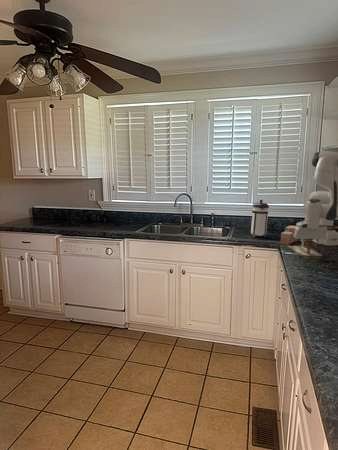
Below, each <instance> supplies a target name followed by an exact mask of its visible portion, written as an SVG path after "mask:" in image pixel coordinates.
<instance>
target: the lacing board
mask: <svg viewBox="0 0 338 450" xmlns="http://www.w3.org/2000/svg"><path fill="white" fill-rule="evenodd" d="M287 248H289V249H290V250H293V251H294V252H295V253H296V254H298V255H299V258H305V259H324V255H323V254H321V253H319V252H317V251H316V250H314V249H309V248H305V247H303V246H302V245H287Z"/></svg>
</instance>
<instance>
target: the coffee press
mask: <svg viewBox="0 0 338 450" xmlns="http://www.w3.org/2000/svg"><path fill="white" fill-rule="evenodd" d="M269 208H270V206H269V204H268V203H267V202H263V199H259V202H254V203H253V205H252V210H251V212H252V214H251V215H252V216H251V226H250V227H251V228H250V232H249V233H250V235H251V237H252V238H255V237H256V236H259V237H263V238H264V237H265V238H267V226H268V218H269V217H268V216H269ZM265 238H264V239H265Z"/></svg>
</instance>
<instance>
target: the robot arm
mask: <svg viewBox="0 0 338 450" xmlns="http://www.w3.org/2000/svg"><path fill="white" fill-rule="evenodd" d="M310 161H311V165H312V166H313V167H314V168H315V170H314V173H313V174H314V175H313V180H314V181H313V182H314V183H315V184H316V185H318V186H319V187H321V188H324V189H326V190H328V191H325V190H318V191H312V192H311V193H310V195H309V198H308V200H307V203H306V207H305V217H304V220H303V221H299V222H297V223H296V224H295V226H298V227H296V228H295V231H294V237H295V238H296V239H297V240H300V242H301V246H305V243H304V240H312V241H314V242H316V247H317V245H318V244H319V245H325V246H338V231H336V230H337V229H338V226H337V225H334V220H336V219H337V218H338V151H321V152H320V151H319V152H314V153H313V154H312V157H311V160H310Z"/></svg>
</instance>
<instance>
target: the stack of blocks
mask: <svg viewBox="0 0 338 450" xmlns="http://www.w3.org/2000/svg"><path fill="white" fill-rule="evenodd" d="M296 227H298V226H296V225H291V224H290V225H288V226H286V227H285V229H284V231H283V232H281V234H280V244H282V245H287V246H290V245H291V244H292V243H295V242H298V239H296V238H295V237H294V231H295V228H296Z"/></svg>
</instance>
